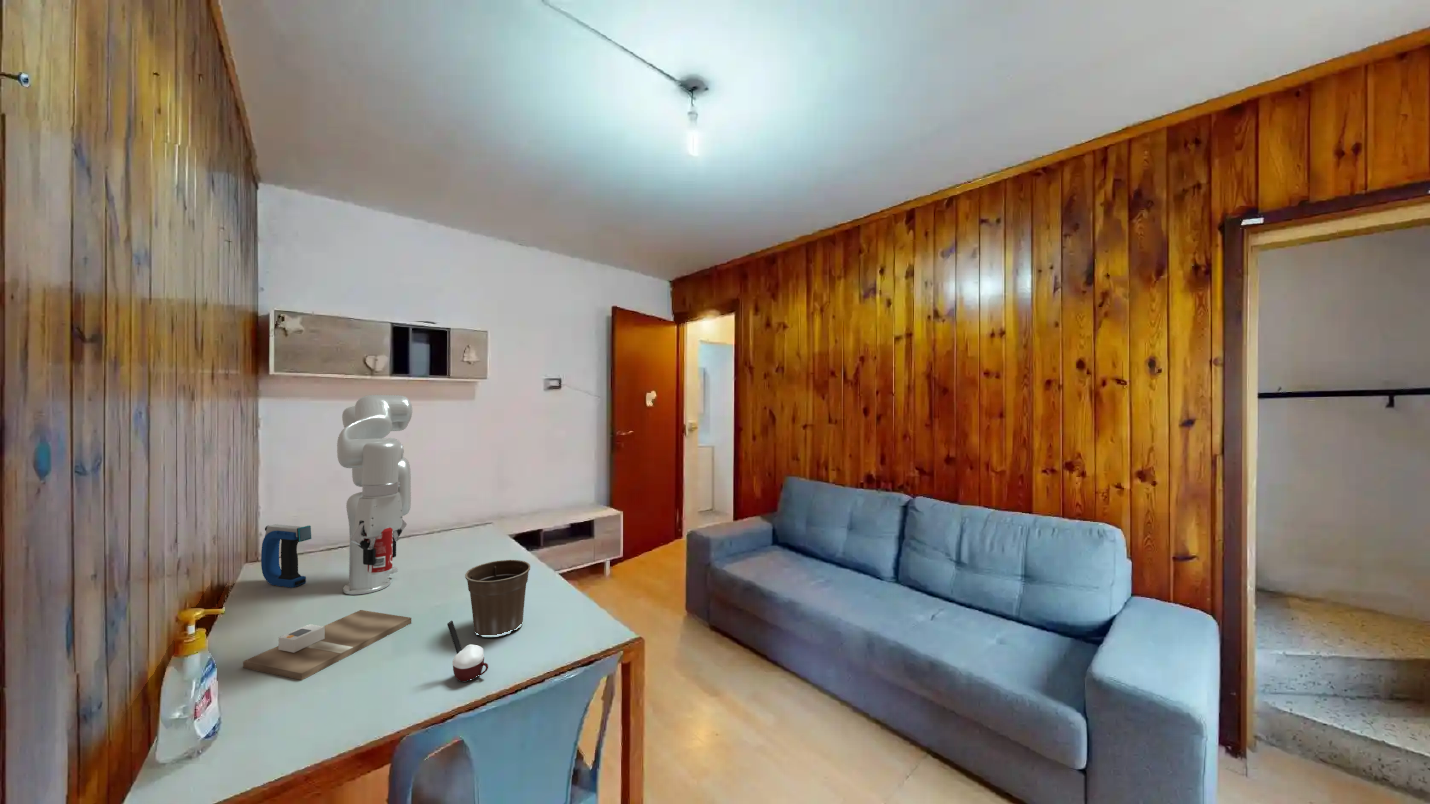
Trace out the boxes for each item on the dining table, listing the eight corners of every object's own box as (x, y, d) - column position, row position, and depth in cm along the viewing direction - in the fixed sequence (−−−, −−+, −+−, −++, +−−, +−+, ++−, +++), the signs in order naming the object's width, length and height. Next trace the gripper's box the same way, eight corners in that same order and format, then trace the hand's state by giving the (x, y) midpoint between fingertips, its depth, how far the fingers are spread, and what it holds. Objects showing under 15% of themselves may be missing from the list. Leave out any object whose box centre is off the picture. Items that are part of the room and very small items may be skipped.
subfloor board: (360, 615, 137) (360, 609, 137) (411, 623, 133) (411, 617, 133) (243, 667, 110) (243, 661, 110) (301, 680, 106) (301, 673, 106)
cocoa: (492, 677, 108) (496, 624, 108) (466, 691, 103) (470, 635, 103) (466, 664, 113) (470, 613, 113) (440, 676, 107) (444, 622, 107)
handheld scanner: (298, 589, 155) (299, 528, 155) (259, 584, 158) (260, 525, 158) (312, 584, 159) (314, 525, 160) (274, 579, 163) (275, 522, 163)
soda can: (375, 568, 124) (375, 522, 124) (396, 567, 125) (397, 522, 125) (362, 575, 119) (363, 527, 119) (385, 575, 120) (385, 527, 120)
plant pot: (464, 649, 119) (464, 585, 119) (464, 622, 134) (465, 564, 134) (533, 635, 127) (533, 574, 127) (526, 610, 141) (527, 556, 141)
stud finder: (309, 635, 122) (309, 623, 122) (324, 638, 120) (324, 625, 120) (278, 649, 115) (278, 636, 115) (293, 652, 114) (294, 639, 114)
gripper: (397, 483, 131) (396, 549, 131) (335, 495, 114) (334, 571, 115) (420, 484, 129) (419, 551, 130) (360, 497, 113) (360, 574, 113)
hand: (379, 559), depth 122 cm, fingers closed on soda can, 5 cm apart
